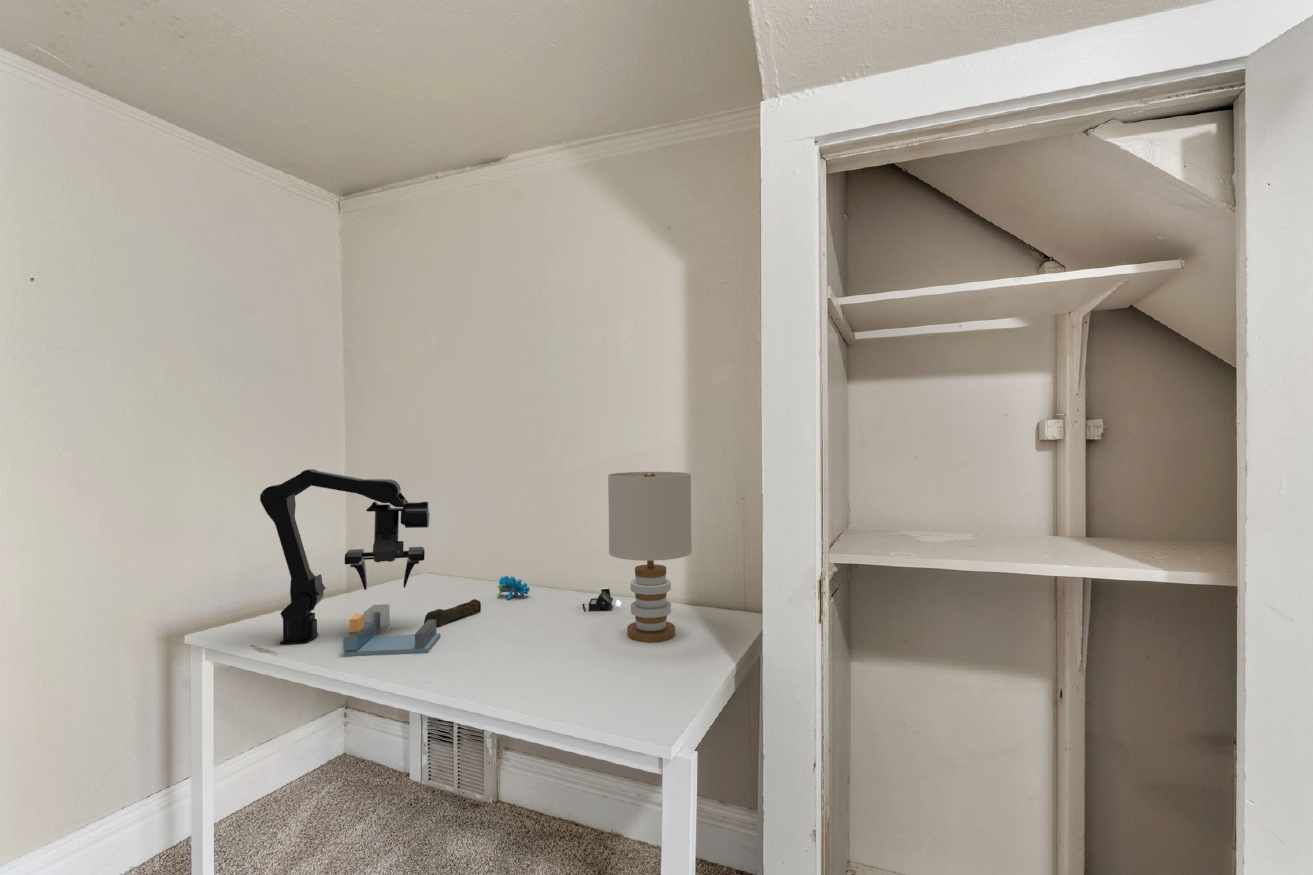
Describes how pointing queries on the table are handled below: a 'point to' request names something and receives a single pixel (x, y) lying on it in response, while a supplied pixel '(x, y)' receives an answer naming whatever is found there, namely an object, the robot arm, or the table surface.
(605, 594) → the black angled gadget
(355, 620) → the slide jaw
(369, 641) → the vise
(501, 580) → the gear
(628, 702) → the table surface
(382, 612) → the steel block
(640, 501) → the lamp
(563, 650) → the table surface
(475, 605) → the brown wooden stick
